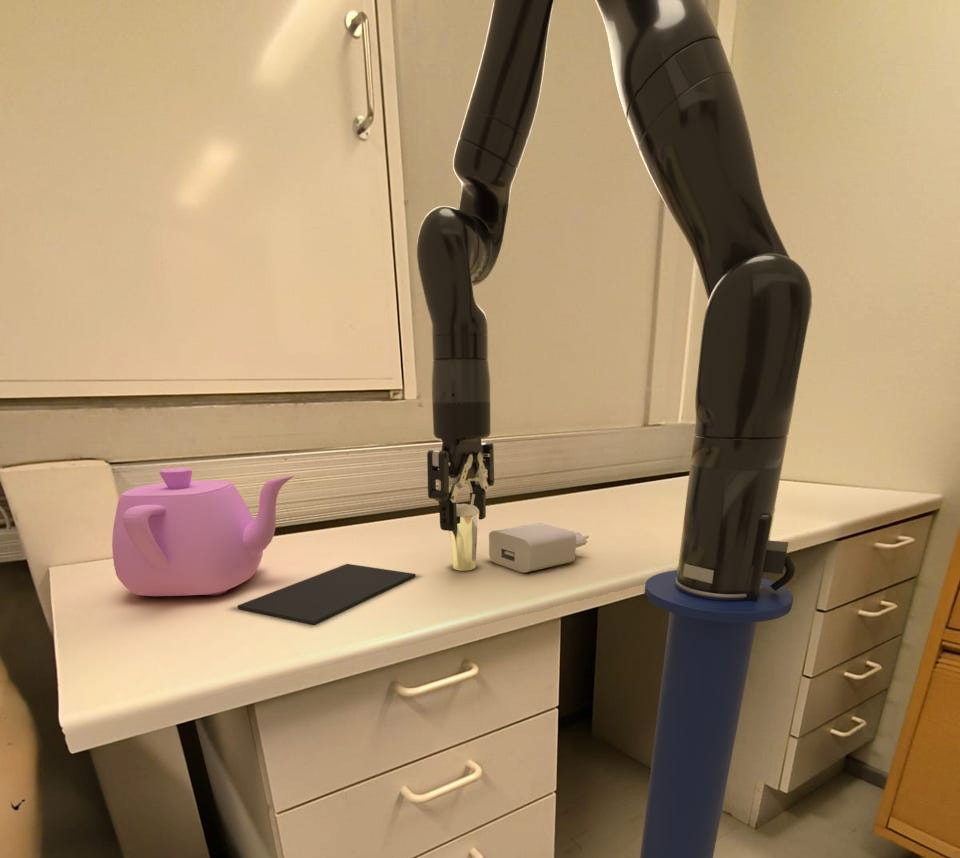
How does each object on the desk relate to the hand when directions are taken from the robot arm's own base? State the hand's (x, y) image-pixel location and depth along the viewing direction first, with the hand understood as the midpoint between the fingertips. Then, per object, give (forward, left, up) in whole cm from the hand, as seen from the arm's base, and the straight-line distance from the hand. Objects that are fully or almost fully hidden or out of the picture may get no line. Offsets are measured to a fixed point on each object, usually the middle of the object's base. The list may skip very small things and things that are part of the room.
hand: (464, 524), depth 82 cm
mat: (+10, +17, -6) cm, 21 cm away
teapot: (+28, +22, -6) cm, 36 cm away
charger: (-9, -9, -6) cm, 14 cm away
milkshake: (0, 0, -6) cm, 6 cm away
